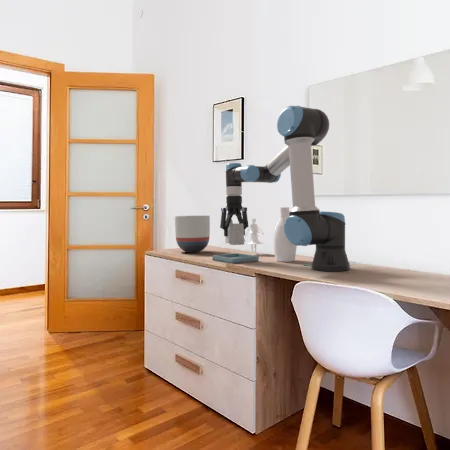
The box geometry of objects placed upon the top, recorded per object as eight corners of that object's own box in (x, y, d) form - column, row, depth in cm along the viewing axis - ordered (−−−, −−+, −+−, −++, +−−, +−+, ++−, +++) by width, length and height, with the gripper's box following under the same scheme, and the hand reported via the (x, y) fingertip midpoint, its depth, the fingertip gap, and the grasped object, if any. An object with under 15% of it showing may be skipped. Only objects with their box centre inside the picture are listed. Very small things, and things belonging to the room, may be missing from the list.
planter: (214, 250, 257) (213, 215, 256) (204, 254, 237) (204, 216, 236) (182, 250, 262) (181, 215, 261) (170, 254, 242) (169, 216, 241)
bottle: (301, 261, 197) (300, 207, 196) (278, 262, 195) (277, 207, 193) (291, 258, 208) (290, 207, 207) (270, 260, 205) (269, 207, 204)
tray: (258, 261, 202) (258, 256, 202) (232, 263, 194) (232, 258, 194) (237, 257, 217) (237, 253, 217) (212, 260, 209) (212, 255, 209)
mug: (234, 245, 198) (233, 219, 198) (222, 243, 209) (221, 219, 208) (248, 244, 202) (247, 219, 201) (235, 242, 212) (235, 218, 212)
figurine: (251, 256, 223) (250, 218, 222) (240, 254, 230) (239, 218, 230) (270, 254, 230) (269, 217, 229) (259, 253, 238) (258, 217, 237)
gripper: (246, 195, 213) (247, 241, 214) (211, 195, 202) (212, 243, 203) (255, 195, 206) (256, 241, 207) (220, 195, 196) (220, 244, 197)
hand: (234, 242), depth 205 cm, fingers closed on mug, 7 cm apart
